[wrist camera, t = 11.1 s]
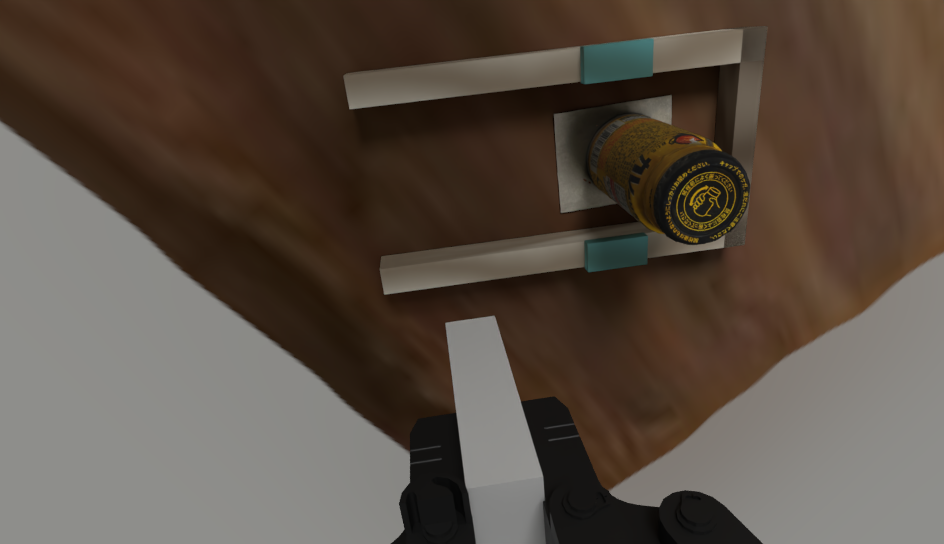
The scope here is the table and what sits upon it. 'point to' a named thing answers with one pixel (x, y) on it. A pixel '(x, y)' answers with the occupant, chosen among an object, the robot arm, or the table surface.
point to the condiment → (649, 170)
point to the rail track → (583, 64)
